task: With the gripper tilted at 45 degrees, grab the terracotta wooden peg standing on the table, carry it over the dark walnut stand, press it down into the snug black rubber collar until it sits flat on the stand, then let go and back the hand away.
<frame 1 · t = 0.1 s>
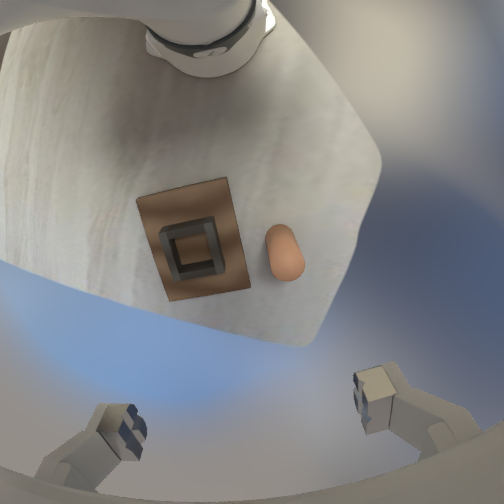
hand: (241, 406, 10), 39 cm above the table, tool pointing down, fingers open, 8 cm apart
collar stand: (195, 241, 49), on the table
peg: (279, 237, 49), on the table
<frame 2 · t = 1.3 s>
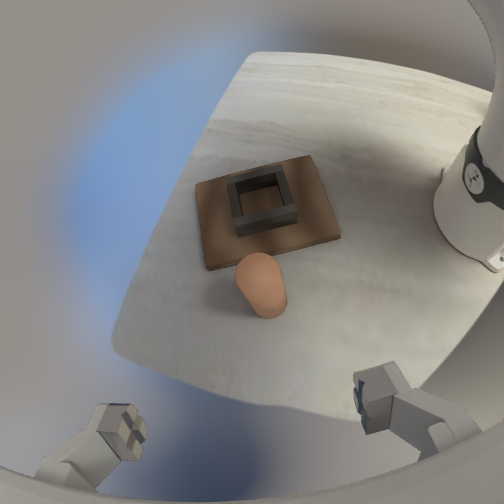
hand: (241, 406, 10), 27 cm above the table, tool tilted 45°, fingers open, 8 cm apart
collar stand: (263, 211, 45), on the table
peg: (269, 301, 39), on the table
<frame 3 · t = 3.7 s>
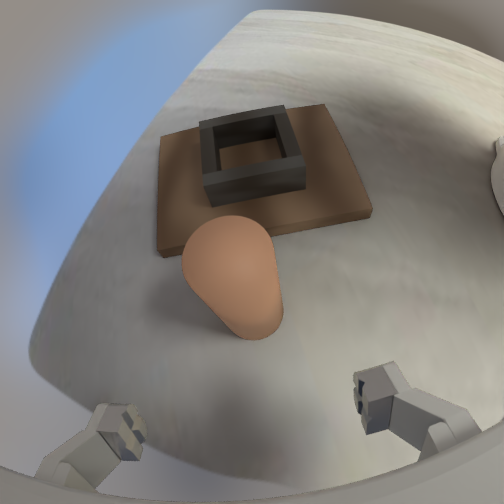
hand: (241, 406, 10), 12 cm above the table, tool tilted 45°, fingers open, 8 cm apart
collar stand: (254, 173, 29), on the table
peg: (254, 311, 24), on the table
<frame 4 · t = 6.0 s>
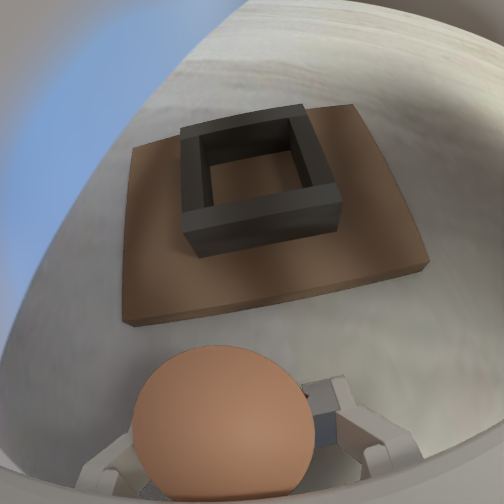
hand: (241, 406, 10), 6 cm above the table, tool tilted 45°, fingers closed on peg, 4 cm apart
collar stand: (259, 202, 21), on the table
peg: (261, 413, 15), on the table, touching gripper
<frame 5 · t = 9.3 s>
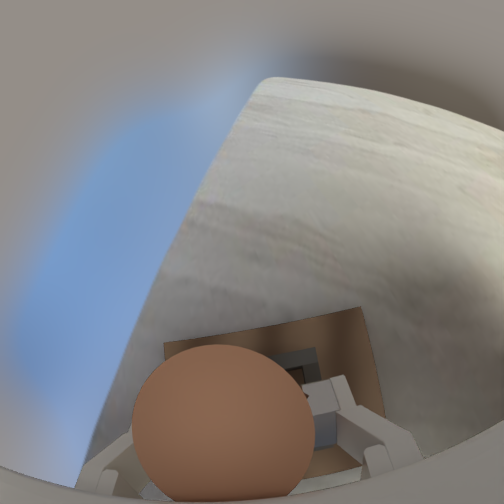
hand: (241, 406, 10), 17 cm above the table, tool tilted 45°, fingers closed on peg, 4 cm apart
collar stand: (275, 405, 25), on the table
peg: (261, 413, 15), point 11 cm above the table, touching gripper
when the fingers open (7 cm above the table, at t = 12.7 s): peg stays where it is, resting on collar stand.
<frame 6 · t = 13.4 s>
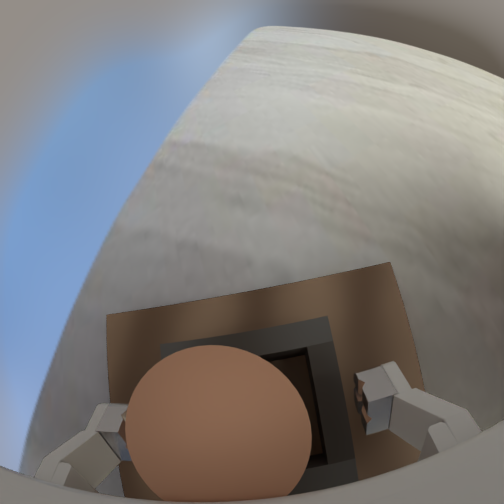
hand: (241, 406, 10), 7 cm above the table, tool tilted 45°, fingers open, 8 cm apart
collar stand: (264, 412, 16), on the table
peg: (259, 414, 15), point 1 cm above the table, touching collar stand
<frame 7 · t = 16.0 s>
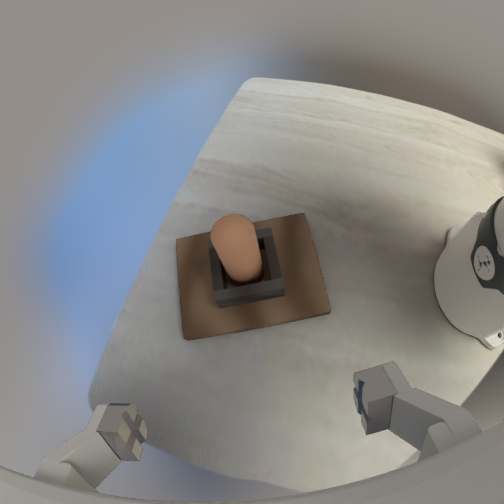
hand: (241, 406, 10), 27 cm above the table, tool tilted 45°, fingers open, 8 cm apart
collar stand: (248, 276, 41), on the table
peg: (246, 272, 40), point 1 cm above the table, touching collar stand
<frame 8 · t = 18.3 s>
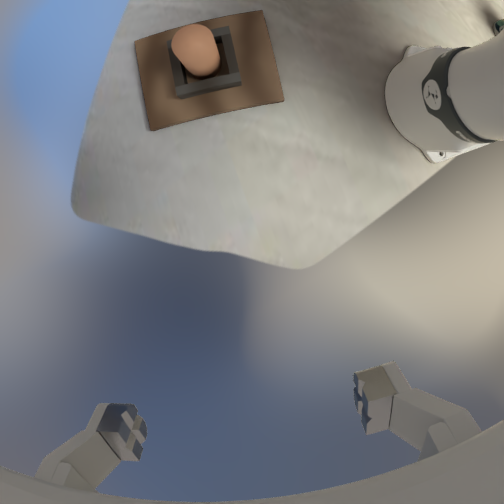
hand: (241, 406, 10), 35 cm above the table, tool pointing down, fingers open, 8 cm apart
lotion bottle: (501, 34, 33), on the table
collar stand: (207, 67, 37), on the table
peg: (205, 65, 36), point 2 cm above the table, touching collar stand
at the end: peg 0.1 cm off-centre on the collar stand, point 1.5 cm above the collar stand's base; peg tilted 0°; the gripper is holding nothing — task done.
